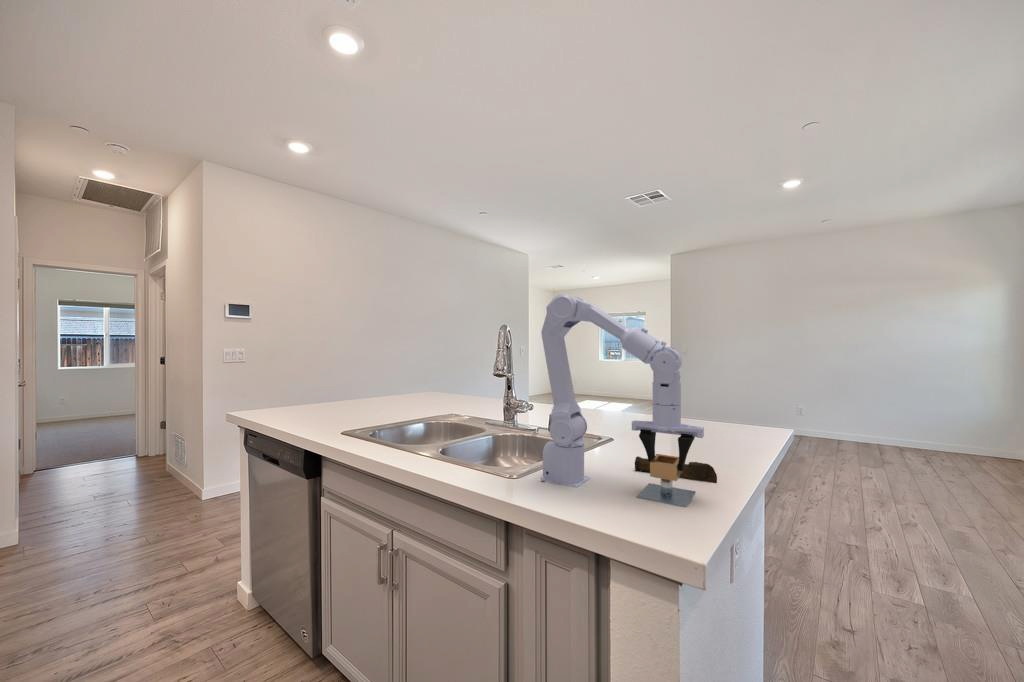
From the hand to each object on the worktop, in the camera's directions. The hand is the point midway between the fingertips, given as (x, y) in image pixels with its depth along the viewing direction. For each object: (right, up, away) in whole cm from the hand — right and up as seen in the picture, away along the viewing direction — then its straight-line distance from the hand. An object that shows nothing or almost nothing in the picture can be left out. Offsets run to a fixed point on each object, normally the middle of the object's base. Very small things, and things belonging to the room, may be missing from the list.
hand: (666, 467), depth 92 cm
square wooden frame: (0, -2, 0) cm, 2 cm away
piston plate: (0, -6, 0) cm, 6 cm away
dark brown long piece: (+7, -7, +14) cm, 17 cm away
